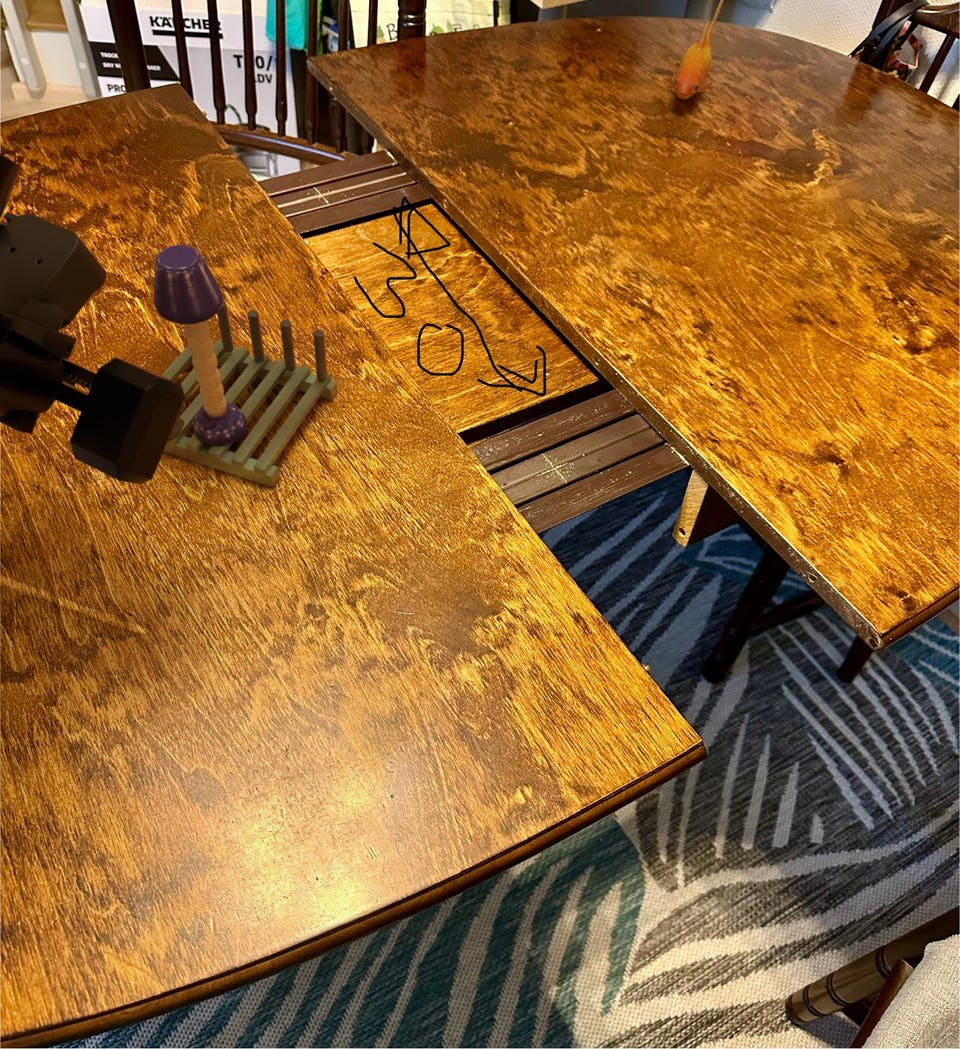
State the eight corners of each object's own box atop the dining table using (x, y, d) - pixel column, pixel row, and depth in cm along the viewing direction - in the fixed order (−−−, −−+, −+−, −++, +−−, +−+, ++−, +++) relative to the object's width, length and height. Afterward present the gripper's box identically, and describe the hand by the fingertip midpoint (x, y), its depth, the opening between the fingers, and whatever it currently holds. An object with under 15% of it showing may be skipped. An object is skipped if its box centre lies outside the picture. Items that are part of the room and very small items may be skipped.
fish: (694, 131, 117) (715, 55, 109) (654, 121, 118) (671, 44, 110) (729, 53, 129) (750, -21, 121) (692, 44, 130) (710, -30, 122)
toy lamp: (238, 454, 71) (205, 279, 58) (180, 448, 71) (133, 271, 58) (252, 412, 74) (223, 237, 61) (196, 406, 74) (155, 229, 61)
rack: (119, 437, 74) (98, 374, 69) (196, 349, 82) (183, 285, 76) (272, 488, 72) (263, 426, 67) (337, 392, 79) (333, 330, 74)
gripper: (127, 256, 43) (285, 339, 58) (-144, 145, 48) (67, 248, 63) (41, 472, 43) (219, 498, 58) (-217, 340, 48) (8, 396, 63)
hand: (126, 403), depth 61 cm, fingers open, 9 cm apart
